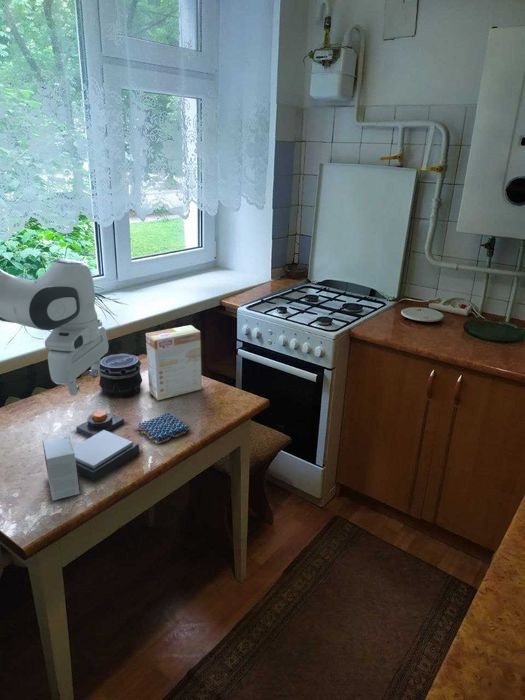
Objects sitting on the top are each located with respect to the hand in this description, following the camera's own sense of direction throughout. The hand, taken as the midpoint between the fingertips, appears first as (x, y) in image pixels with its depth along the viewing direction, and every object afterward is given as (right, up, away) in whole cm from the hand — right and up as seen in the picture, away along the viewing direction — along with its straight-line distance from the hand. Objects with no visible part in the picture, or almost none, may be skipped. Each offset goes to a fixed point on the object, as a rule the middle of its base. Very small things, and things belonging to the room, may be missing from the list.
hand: (85, 384), depth 117 cm
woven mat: (+16, -13, +14) cm, 25 cm away
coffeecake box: (+15, -5, +37) cm, 40 cm away
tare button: (-1, -10, +14) cm, 17 cm away
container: (-2, -4, +36) cm, 36 cm away
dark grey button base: (-1, -12, +15) cm, 20 cm away
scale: (+3, -18, +2) cm, 18 cm away
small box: (-2, -22, -9) cm, 24 cm away
